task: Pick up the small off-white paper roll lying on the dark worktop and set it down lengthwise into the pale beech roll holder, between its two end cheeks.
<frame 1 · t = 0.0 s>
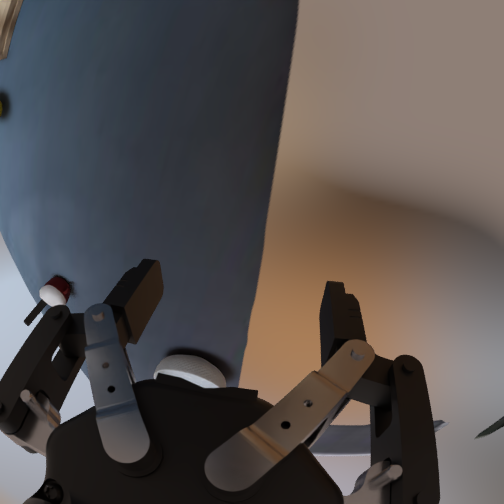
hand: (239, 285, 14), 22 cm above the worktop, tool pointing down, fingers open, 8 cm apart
roll holder: (1, 16, 19), on the worktop
lemon: (2, 104, 30), on the worktop
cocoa: (62, 282, 55), on the worktop
cereal bowl: (195, 362, 66), on the worktop
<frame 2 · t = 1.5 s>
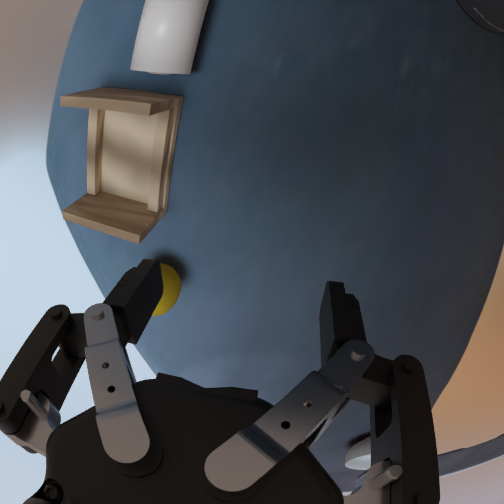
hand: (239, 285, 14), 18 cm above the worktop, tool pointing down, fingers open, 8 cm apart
roll holder: (132, 149, 29), on the worktop
lemon: (169, 268, 38), on the worktop
paper roll: (169, 28, 20), point 3 cm above the worktop, tilted 37°
cereal bowl: (376, 438, 61), on the worktop
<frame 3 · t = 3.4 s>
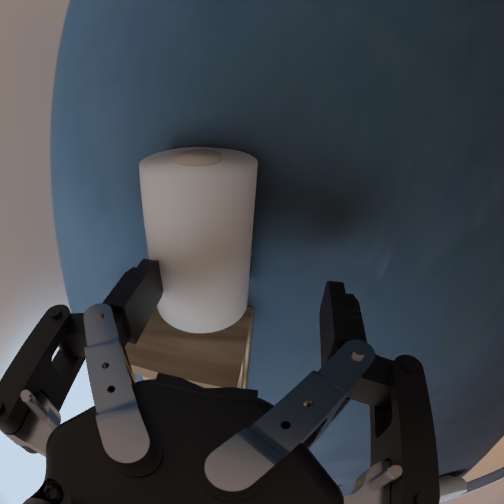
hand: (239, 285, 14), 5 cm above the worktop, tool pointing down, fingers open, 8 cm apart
roll holder: (193, 351, 25), on the worktop
paper roll: (199, 238, 16), point 3 cm above the worktop, tilted 64°, touching gripper
cereal bowl: (437, 479, 49), on the worktop
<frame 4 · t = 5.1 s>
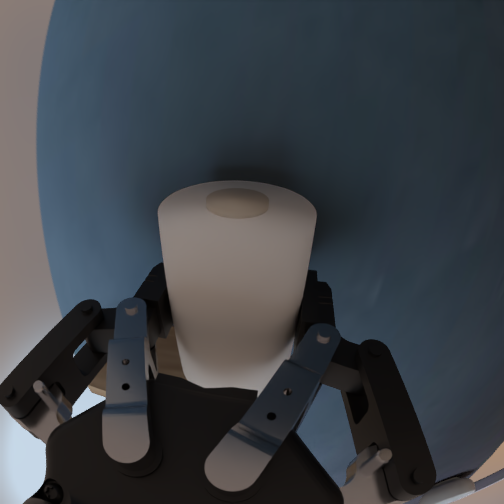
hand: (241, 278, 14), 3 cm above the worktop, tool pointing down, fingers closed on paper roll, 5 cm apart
roll holder: (192, 378, 25), on the worktop
paper roll: (235, 298, 13), point 5 cm above the worktop, tilted 40°, touching gripper
cereal bowl: (445, 481, 48), on the worktop
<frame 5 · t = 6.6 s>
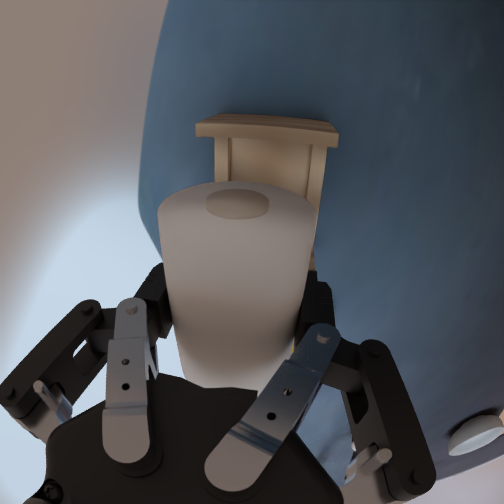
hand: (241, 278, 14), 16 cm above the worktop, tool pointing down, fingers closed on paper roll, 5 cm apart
roll holder: (269, 183, 28), on the worktop
paper roll: (235, 299, 13), point 18 cm above the worktop, tilted 39°, touching gripper
cereal bowl: (472, 421, 52), on the worktop
when the fingers open (3 cm above the worktop, at t = 8.9 s): paper roll drops 2 cm, resting on roll holder.
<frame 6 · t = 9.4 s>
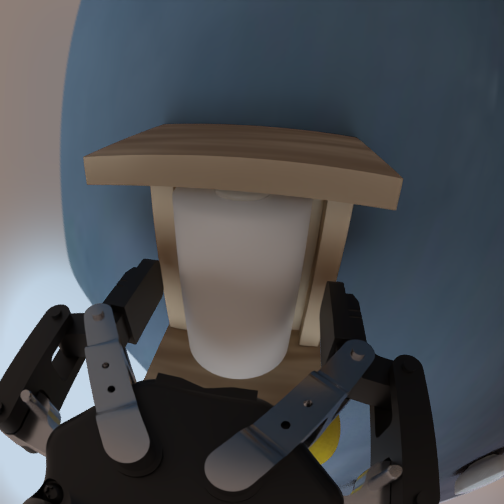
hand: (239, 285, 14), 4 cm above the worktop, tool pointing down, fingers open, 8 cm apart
roll holder: (251, 242, 17), on the worktop
lemon: (308, 390, 25), on the worktop
paper roll: (240, 277, 14), point 4 cm above the worktop, tilted 41°, touching roll holder
cereal bowl: (481, 460, 41), on the worktop
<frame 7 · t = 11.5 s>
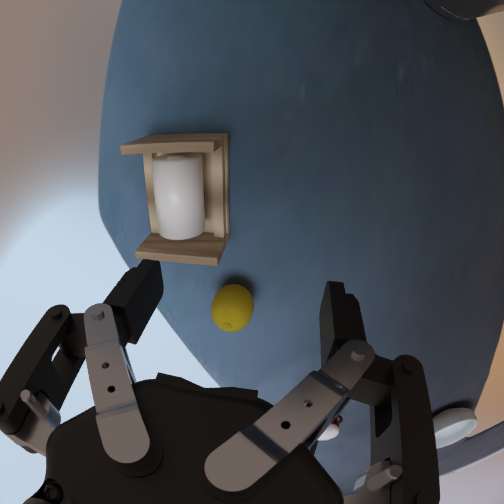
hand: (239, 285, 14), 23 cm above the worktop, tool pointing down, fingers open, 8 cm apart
roll holder: (189, 186, 36), on the worktop
lemon: (237, 288, 43), on the worktop
paper roll: (179, 194, 32), point 4 cm above the worktop, tilted 40°, touching roll holder
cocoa: (323, 415, 58), on the worktop
cereal bowl: (444, 415, 57), on the worktop
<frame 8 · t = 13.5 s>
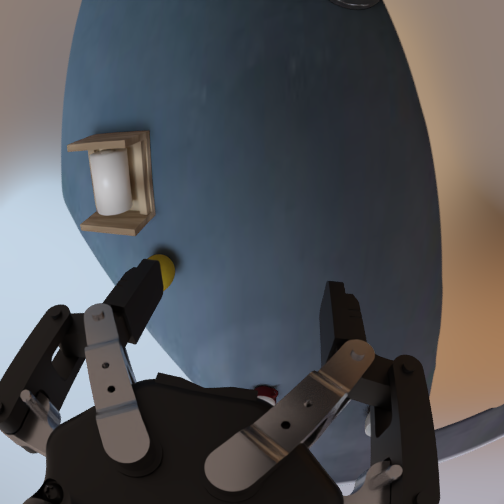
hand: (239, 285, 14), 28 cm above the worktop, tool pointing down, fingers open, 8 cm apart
roll holder: (123, 173, 42), on the worktop
lemon: (166, 259, 49), on the worktop
paper roll: (111, 180, 38), point 4 cm above the worktop, tilted 40°, touching roll holder
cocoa: (263, 389, 66), on the worktop
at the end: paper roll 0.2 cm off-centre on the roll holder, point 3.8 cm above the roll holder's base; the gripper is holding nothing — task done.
